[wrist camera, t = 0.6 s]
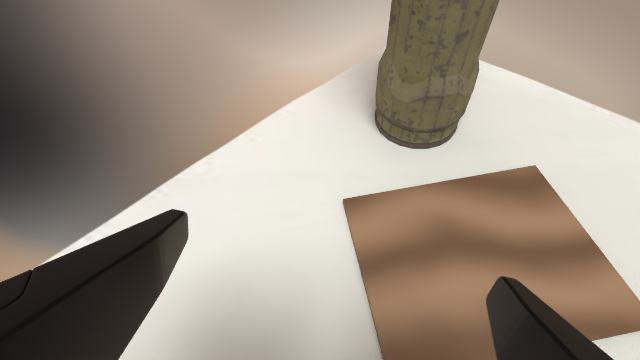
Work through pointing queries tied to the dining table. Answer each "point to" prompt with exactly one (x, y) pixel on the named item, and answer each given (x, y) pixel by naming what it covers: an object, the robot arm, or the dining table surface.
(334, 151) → the dining table surface
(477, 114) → the dining table surface
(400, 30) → the thermos
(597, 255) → the walnut mat
